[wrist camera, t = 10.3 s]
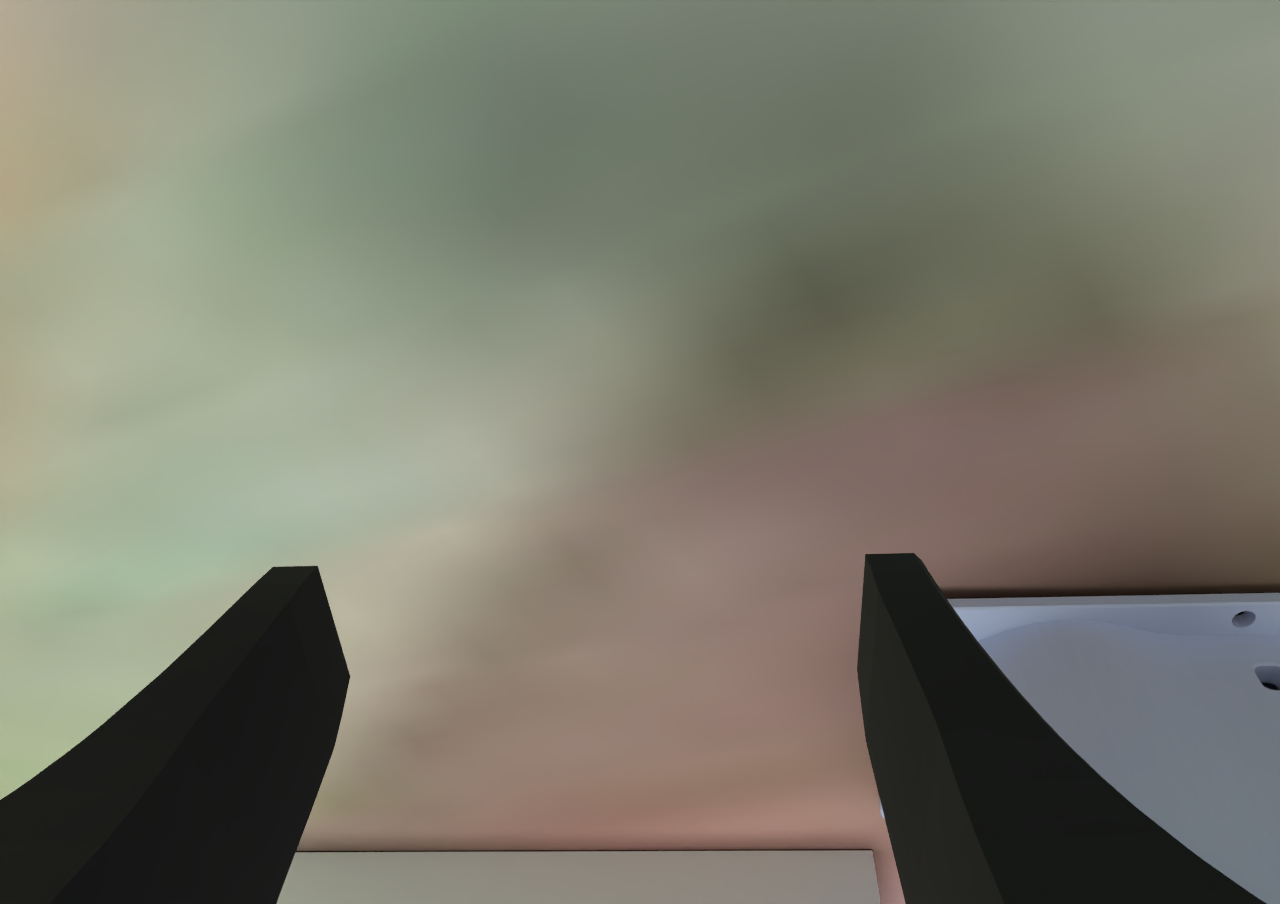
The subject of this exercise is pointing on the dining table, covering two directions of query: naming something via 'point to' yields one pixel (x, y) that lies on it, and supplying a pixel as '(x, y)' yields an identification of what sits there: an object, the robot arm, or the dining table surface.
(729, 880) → the tray
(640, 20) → the dining table surface
